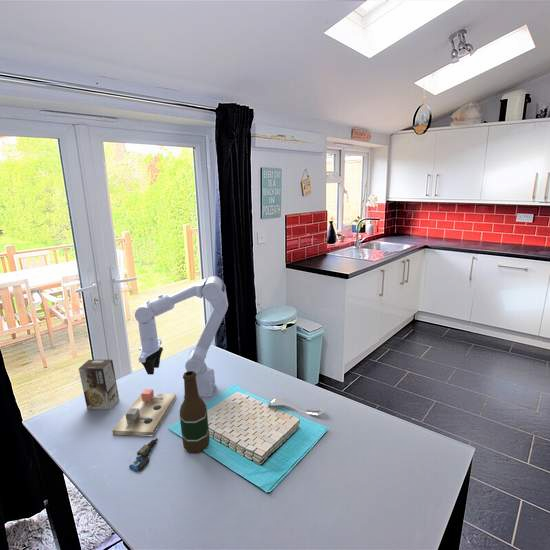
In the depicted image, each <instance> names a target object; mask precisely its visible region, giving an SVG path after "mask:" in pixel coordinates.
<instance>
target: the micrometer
mask: <svg viewBox="0 0 550 550" xmlns="http://www.w3.org/2000/svg"><path fill="white" fill-rule="evenodd" d="M158 440H159V439H158V438H157V437H156V438H155V439H152V440H150V442H148V443H147V444H144V445H143V446H142V447H141V448H140V449H139V450H138V451H137V452H136V454H137V456H136V457H135V460H134V461H133V463H132V464H129V465H128V466H129V468H130V469H132V471H133V472H139V473H140V472H141V471H143V470H144V469H145V468H146V466H147V465H148V464H149V463H150V459H149V457H150V454H149V453H151V452H152V450H151V449H154V447H155V446H156V445H157V441H158ZM155 444H156V445H155ZM154 445H155V446H154ZM150 451H151V452H150ZM148 456H149V457H148ZM139 461H140V462H139ZM137 462H139V463H138V464H137V465H135V464H136V463H137Z"/></svg>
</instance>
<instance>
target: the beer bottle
mask: <svg viewBox="0 0 550 550" xmlns="http://www.w3.org/2000/svg"><path fill="white" fill-rule="evenodd" d="M182 379H183V383H184V388H183V389H184V399H183V400H182V403H181V405H180V408H179V423H180V430H181V437H182V439H181V440H182V445H183V449H184V450H185V451H186V453H188V454H192V455H194V454H196V455H197V454H201V453H202V452H204V451H205V450H204V449H206V448H207V447H209V444H210V429H209V419H208V418H209V417H208V416H209V415H208V409H207V408H208V407H207V404H206V402H205V400H203V398H201V397H200V396H199V393H198V388H197V382H196V373H195V372H194V371H188V372H187V371H185V372H184V373H183V375H182ZM207 449H208V448H207ZM207 449H206V450H207ZM203 450H204V451H203Z"/></svg>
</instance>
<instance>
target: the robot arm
mask: <svg viewBox="0 0 550 550" xmlns="http://www.w3.org/2000/svg"><path fill="white" fill-rule="evenodd" d="M226 288H227V287H226V284H225V283H224V282H223V280H222V279H221V277H219V276H217V275H212V276H208V277H207V278H203V279H201V280H199V281H197V282H195V283H193V284H191V285H189V286H187V287H185V288H183V289H181V290H180V291H177V292H175V293H173V294H168V293H165V294H163V293H161V294H159V295H158V296H157V298H154V299H152V300H146V302H143V303H141V304H140V305H139V306H138V308H137V309H136V310H135V312H134V318H135V320H136V321H137V323H138V330H139V331H138V332H139V338H140V344H141V345H140V347H138V350H139V351H140V353H139V354H140V355H139V357H137V358H138V363H141V365H142V366H143V367H144V369H145V372H146V373H147V375H152V376H153V375H154V374H155V369H158V368H160V364H161V363H160V362H161V356H162V353H163V351H164V347H162V346H161V345H162V339H161V338H158V331H157V323H156V317H158V316H160V315H161V316H162V314H165V313H167V312H169V311H171V310H173V309H174V308H175V305H176V304H178V303H180V302H183V301H185V300H187V299H188V300H189V299H191V298H193V297H197V298H200V299H203V298H204V299H205V300H206V301H207V302H208V303H210V304H211V307H212V309H211V310H212V311H211V313H210V315H209V316H208V319H207V322H206V324H205V325H204V328H203V329H202V332H201V334H200V336H199V338H198V340H197V342H196V344H195V346H194V347H193V348H191V349H190V350H189V354H188V358H187V360H186V361H185V366H184V367H185V370H186V372H188V371H194V372H195V373H196V382H197V388H198V393H199V396H200V398H201V397H203V398H205V397H207V398H208V397H209V398H210V397H211V396H212V395H213V393H214V390H215V388H216V386H217V384H216V380H215V378H216V377H215V371H214V368H210V367H208V366H207V365H208V364H206V362H205V360H206V358H207V354H208V351H209V349H210V347H211V344H212V343H213V340H214V339H215V336H216V334H217V332H218V330H219V328H220V326H221V324H222V321H223V319H224V317H225V315H226V313H227V311H228V307H229V300H228V297H227V296H228V295H227V291H226V290H227V289H226Z"/></svg>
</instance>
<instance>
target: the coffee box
mask: <svg viewBox="0 0 550 550" xmlns="http://www.w3.org/2000/svg"><path fill="white" fill-rule="evenodd" d="M114 367H115V366H114V362H113V359H88V360H86V361H85V362H84V363H83V364H82V365H81V366H80V367H78V372H79V373H78V374H79V377H80V382H81V386H82V391H83V396H84V401H85V405H86V409H87V410H112V409H113V408H114V407H115V405H116V404H117V403H119V401H120V395H119V390H118V385H117V379H116V372H115V368H114Z"/></svg>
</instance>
